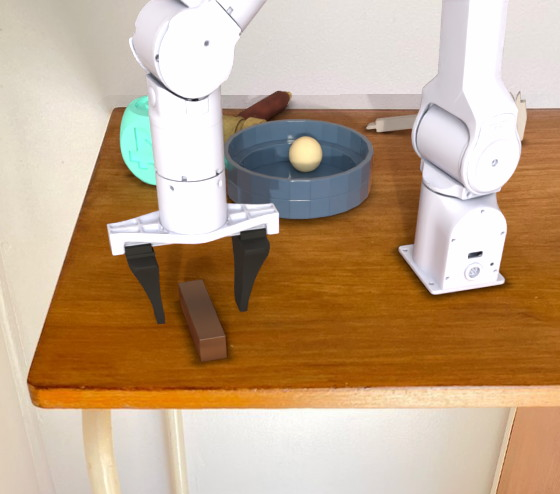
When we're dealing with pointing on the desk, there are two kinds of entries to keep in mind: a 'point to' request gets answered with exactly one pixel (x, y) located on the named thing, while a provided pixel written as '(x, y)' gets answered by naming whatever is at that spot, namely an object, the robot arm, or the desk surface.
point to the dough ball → (305, 154)
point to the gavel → (256, 113)
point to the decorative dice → (138, 140)
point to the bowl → (290, 182)
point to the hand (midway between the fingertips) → (200, 312)
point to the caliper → (409, 120)
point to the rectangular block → (202, 321)
